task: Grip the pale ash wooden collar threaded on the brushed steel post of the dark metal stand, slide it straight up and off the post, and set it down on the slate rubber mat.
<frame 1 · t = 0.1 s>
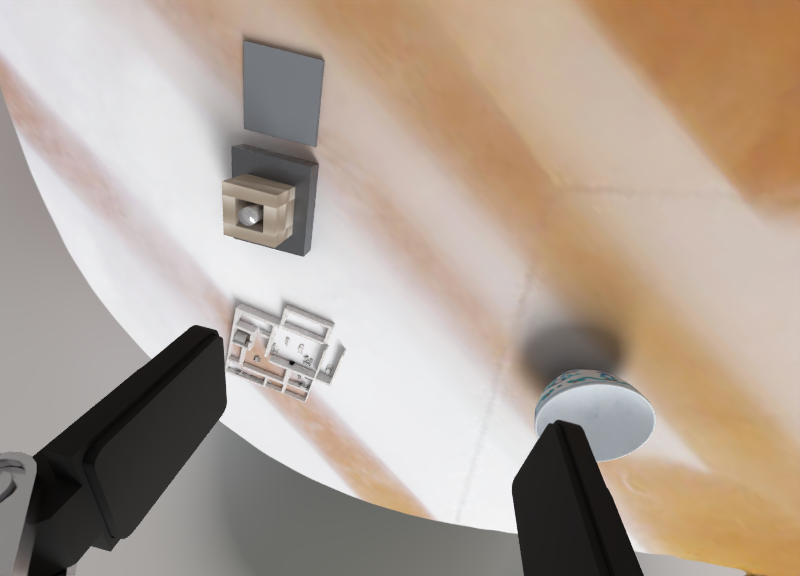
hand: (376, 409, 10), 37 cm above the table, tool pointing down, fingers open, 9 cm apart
collar: (269, 205, 44), point 2 cm above the table, touching post stand
floor plan model: (291, 336, 58), on the table
chinaware: (575, 384, 54), on the table
mat: (283, 96, 40), on the table
post stand: (278, 200, 46), on the table
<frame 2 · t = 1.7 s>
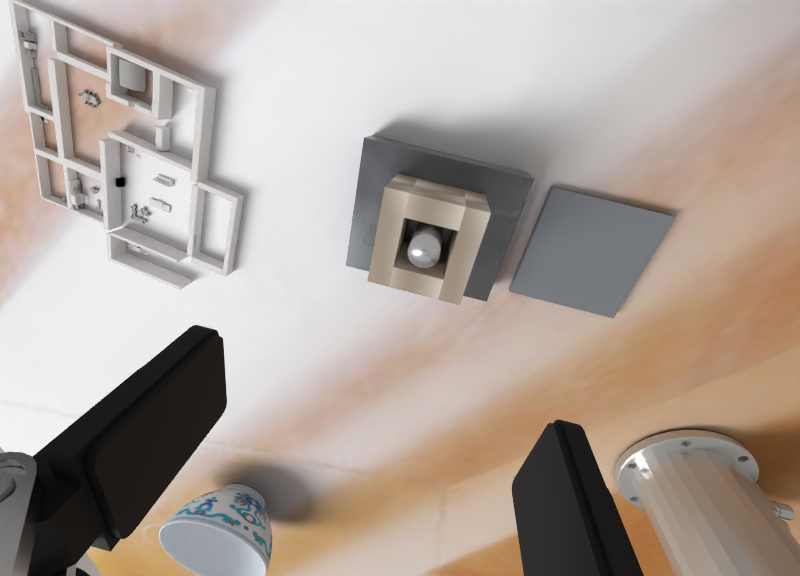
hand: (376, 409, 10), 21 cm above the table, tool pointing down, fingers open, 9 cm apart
collar: (430, 226, 26), point 2 cm above the table, touching post stand
floor plan model: (177, 185, 31), on the table
chinaware: (245, 496, 52), on the table
mat: (583, 254, 28), on the table
post stand: (432, 217, 28), on the table
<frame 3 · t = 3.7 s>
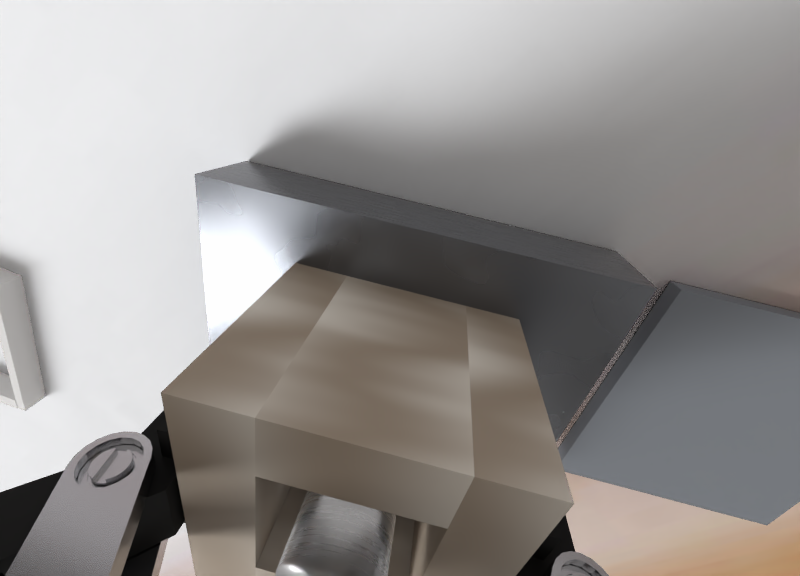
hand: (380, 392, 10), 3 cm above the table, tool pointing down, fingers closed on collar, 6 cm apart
collar: (385, 375, 11), point 3 cm above the table, touching gripper, post stand
mat: (720, 413, 13), on the table
post stand: (397, 330, 13), on the table
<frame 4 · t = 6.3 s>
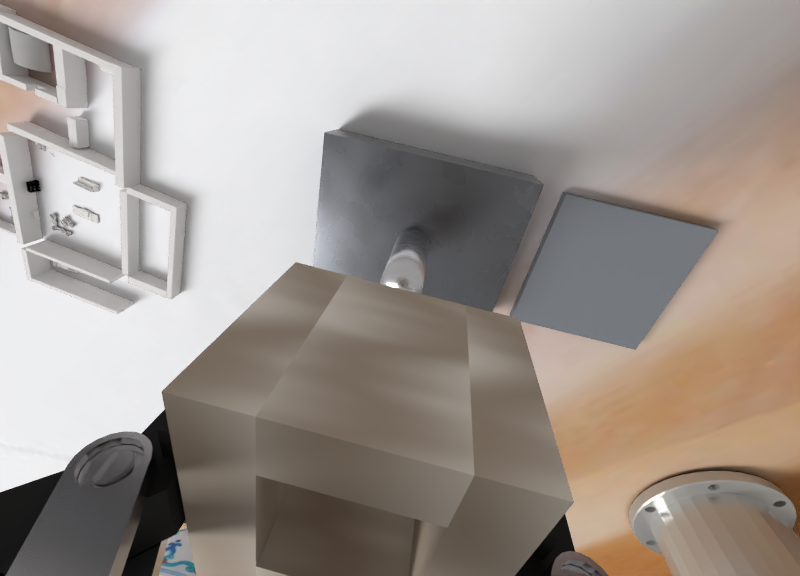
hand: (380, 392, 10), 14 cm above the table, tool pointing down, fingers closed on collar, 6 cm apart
collar: (385, 374, 11), point 14 cm above the table, touching gripper
floor plan model: (106, 189, 25), on the table
chinaware: (217, 531, 47), on the table
mat: (600, 275, 23), on the table
post stand: (416, 230, 23), on the table
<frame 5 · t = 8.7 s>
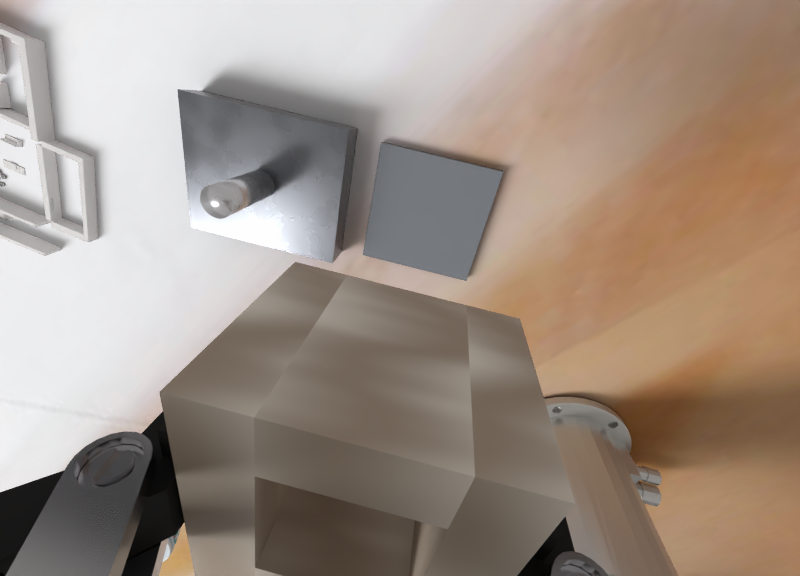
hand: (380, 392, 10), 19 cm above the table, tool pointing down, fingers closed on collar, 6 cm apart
collar: (385, 374, 11), point 19 cm above the table, touching gripper
floor plan model: (30, 146, 30), on the table
mat: (427, 214, 27), on the table
post stand: (277, 177, 28), on the table
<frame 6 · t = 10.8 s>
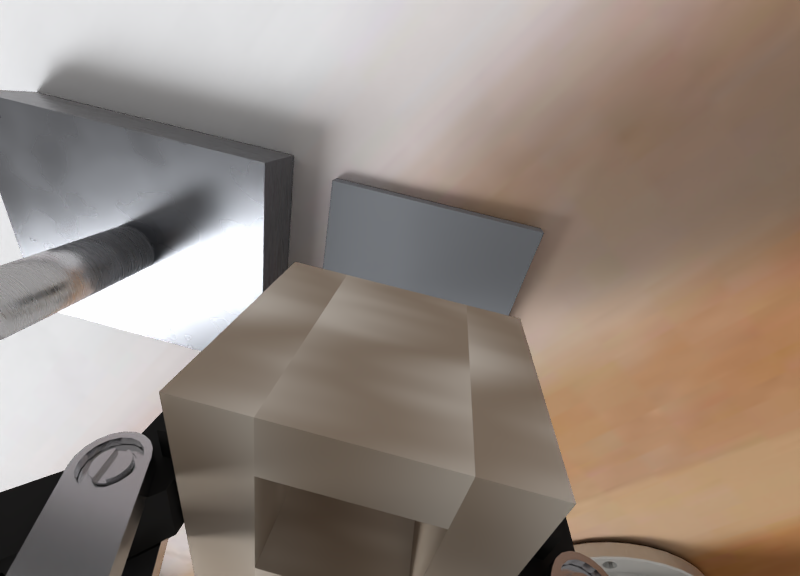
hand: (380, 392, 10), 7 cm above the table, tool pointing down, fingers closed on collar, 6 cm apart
collar: (385, 374, 11), point 6 cm above the table, touching gripper
mat: (414, 292, 17), on the table
post stand: (174, 230, 17), on the table
when the fingers open (3 cm above the table, at t = 12.3 s): collar drops 1 cm, resting on mat.
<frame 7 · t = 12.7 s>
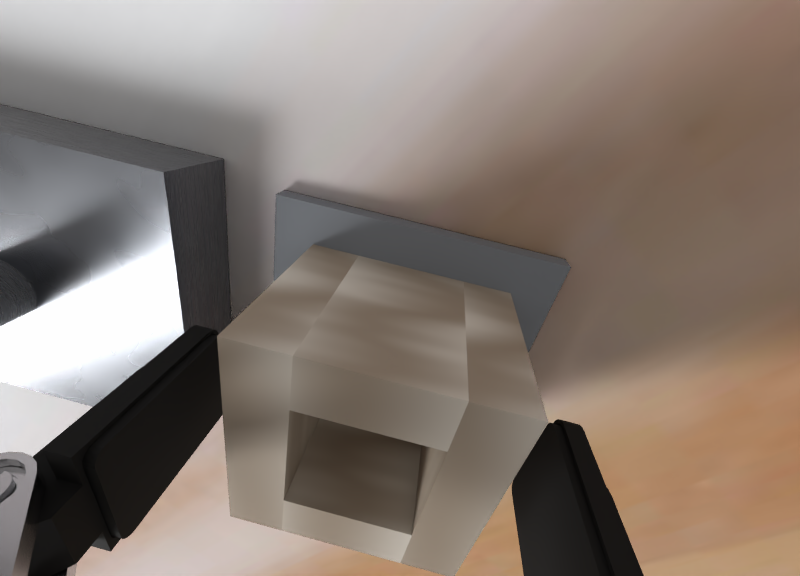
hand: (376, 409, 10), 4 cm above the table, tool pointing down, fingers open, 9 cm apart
collar: (391, 346, 12), point 1 cm above the table, touching mat
mat: (395, 337, 13), on the table
post stand: (81, 256, 13), on the table
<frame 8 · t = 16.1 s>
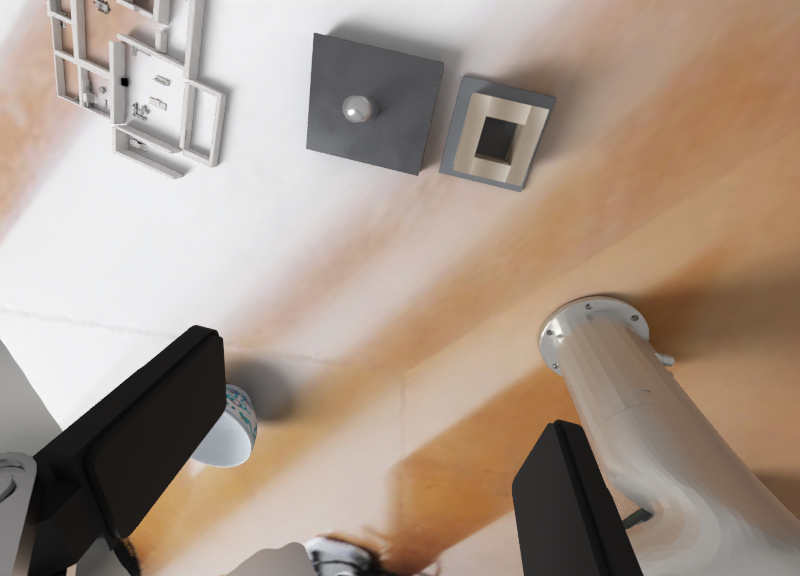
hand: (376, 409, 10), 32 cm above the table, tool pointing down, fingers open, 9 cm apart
collar: (493, 137, 35), point 1 cm above the table, touching mat
floor plan model: (172, 86, 38), on the table
chinaware: (233, 397, 60), on the table
mat: (493, 136, 35), on the table
post stand: (374, 108, 35), on the table
headset box: (669, 517, 58), on the table
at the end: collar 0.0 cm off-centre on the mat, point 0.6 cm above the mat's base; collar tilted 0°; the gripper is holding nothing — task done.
